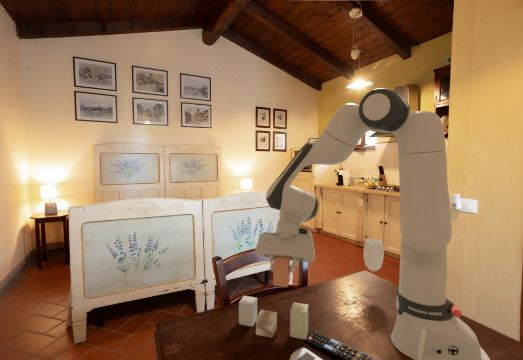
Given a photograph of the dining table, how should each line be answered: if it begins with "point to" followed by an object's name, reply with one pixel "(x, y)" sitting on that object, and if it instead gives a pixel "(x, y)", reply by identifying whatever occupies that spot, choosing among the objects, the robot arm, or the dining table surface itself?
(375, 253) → the cup
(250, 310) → the light grey block
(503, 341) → the dining table surface
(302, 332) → the sage block
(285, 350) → the dining table surface
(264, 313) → the off-white cube
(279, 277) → the terracotta block
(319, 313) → the dining table surface
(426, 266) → the robot arm
